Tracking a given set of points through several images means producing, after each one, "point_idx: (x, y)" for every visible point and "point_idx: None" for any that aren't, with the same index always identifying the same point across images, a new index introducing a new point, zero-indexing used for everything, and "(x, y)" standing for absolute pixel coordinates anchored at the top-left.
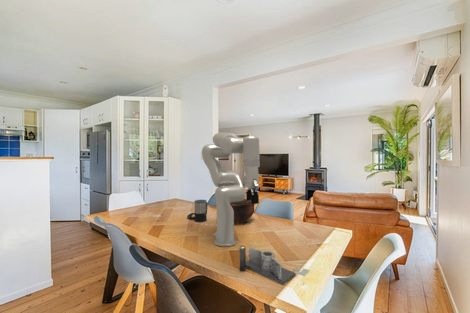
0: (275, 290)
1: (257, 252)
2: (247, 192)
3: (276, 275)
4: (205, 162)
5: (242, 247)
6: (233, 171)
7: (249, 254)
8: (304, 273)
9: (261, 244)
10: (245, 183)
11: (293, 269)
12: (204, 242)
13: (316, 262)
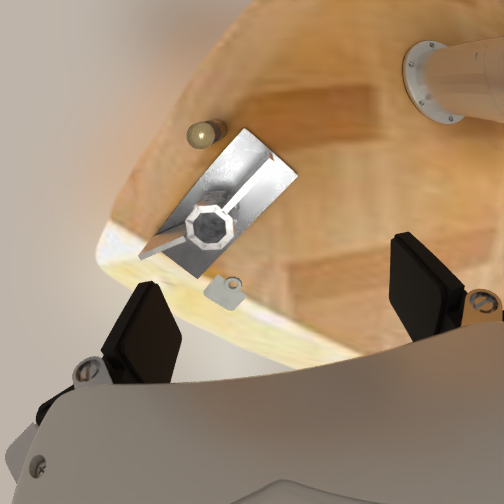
0: (128, 219)
1: (237, 190)
2: (437, 298)
3: (166, 231)
4: None
5: (192, 136)
6: None
7: (267, 156)
8: (213, 296)
9: (414, 209)
10: (342, 496)
11: (232, 277)
12: (431, 12)
13: (275, 333)
